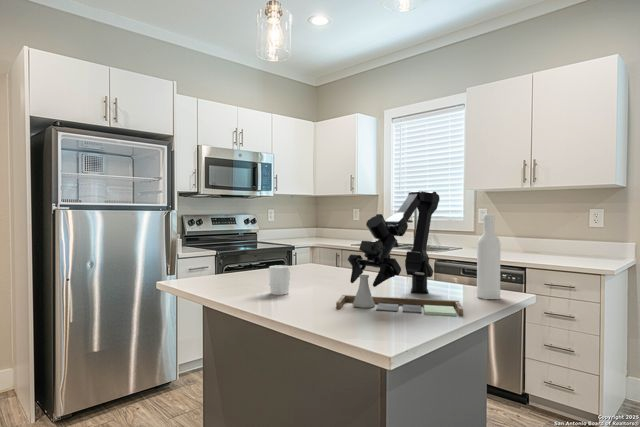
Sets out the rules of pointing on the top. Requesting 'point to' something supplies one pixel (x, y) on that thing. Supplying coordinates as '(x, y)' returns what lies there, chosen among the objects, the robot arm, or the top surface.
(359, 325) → the top surface
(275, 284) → the white cup
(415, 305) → the box
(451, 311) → the pad
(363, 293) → the flask
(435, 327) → the top surface
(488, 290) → the bottle
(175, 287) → the top surface
